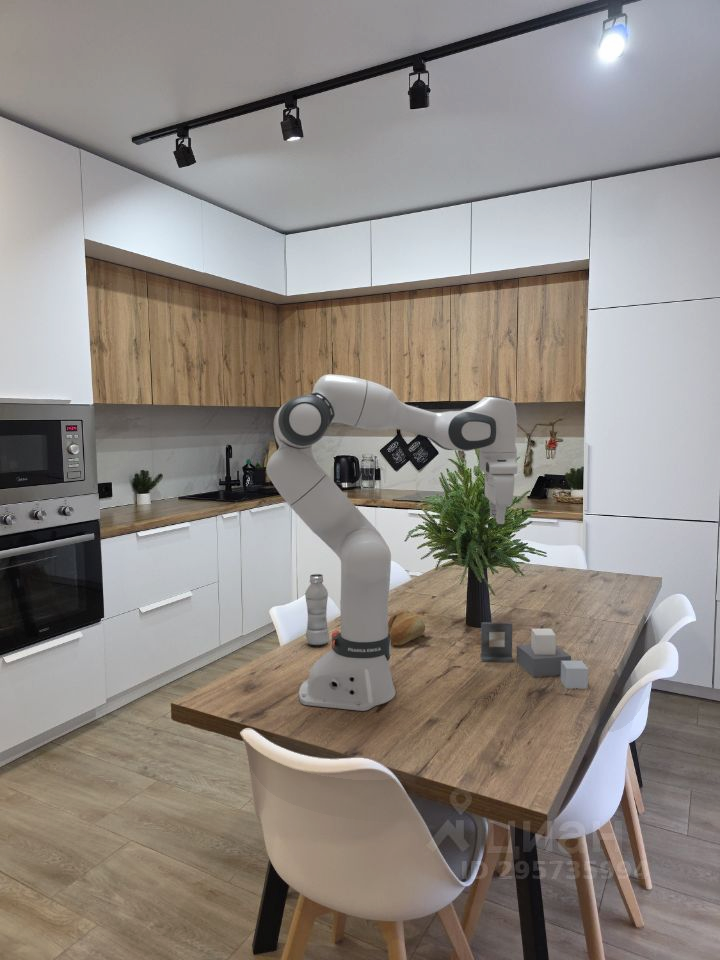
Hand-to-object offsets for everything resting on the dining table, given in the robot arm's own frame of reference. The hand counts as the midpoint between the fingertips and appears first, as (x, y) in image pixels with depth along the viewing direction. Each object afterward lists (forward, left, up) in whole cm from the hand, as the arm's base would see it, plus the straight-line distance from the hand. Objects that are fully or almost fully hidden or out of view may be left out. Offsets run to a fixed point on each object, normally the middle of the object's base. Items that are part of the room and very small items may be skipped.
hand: (497, 520), depth 159 cm
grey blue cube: (+18, -5, -39) cm, 43 cm away
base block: (+13, +5, -39) cm, 42 cm away
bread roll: (-22, +25, -39) cm, 52 cm away
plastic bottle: (-47, +21, -39) cm, 65 cm away
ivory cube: (+13, +5, -34) cm, 37 cm away
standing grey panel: (+2, +11, -39) cm, 41 cm away
